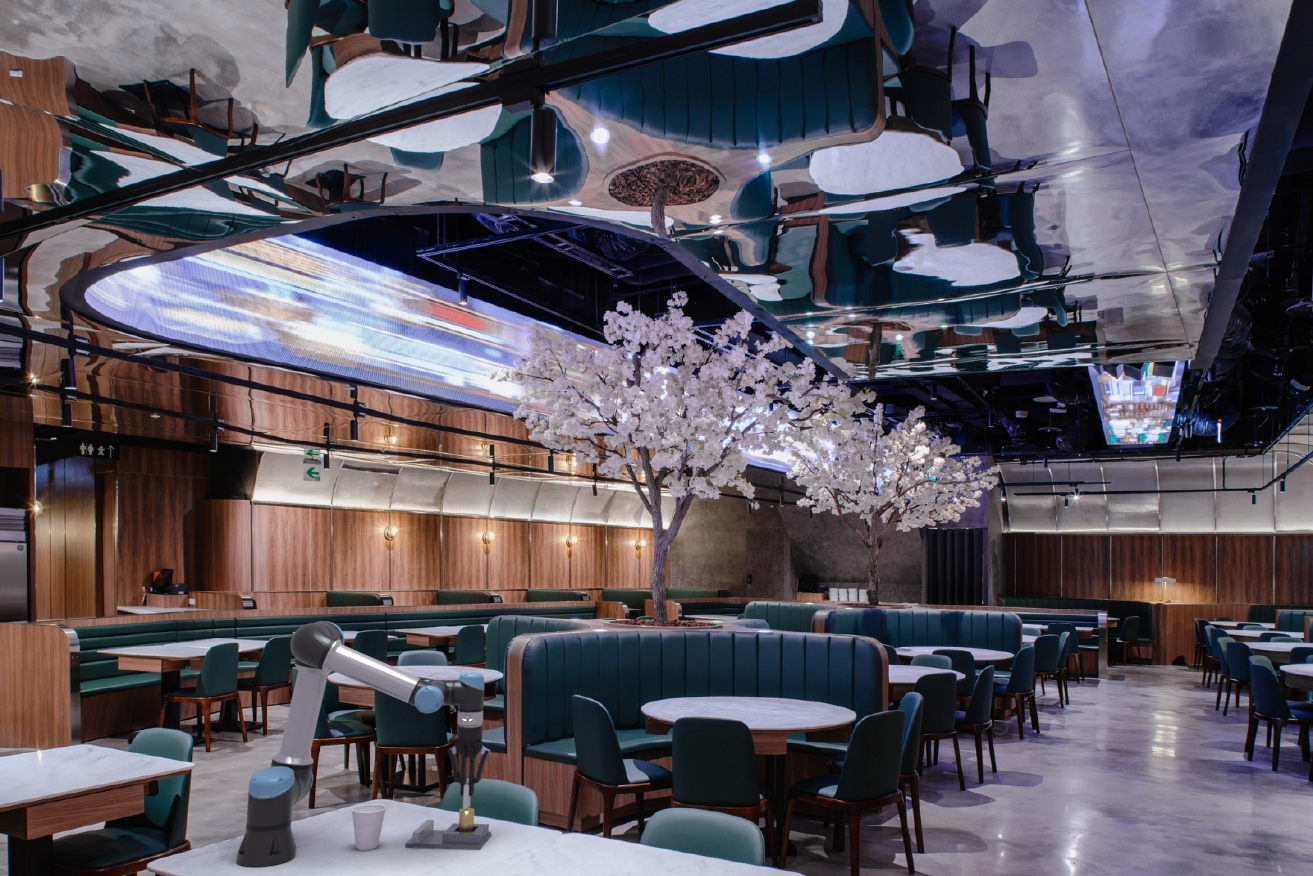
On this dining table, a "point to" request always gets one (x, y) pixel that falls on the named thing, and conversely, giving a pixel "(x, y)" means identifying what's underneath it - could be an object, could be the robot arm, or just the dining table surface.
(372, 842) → the cup
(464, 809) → the cylinder
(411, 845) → the jig
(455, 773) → the robot arm
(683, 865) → the dining table surface
